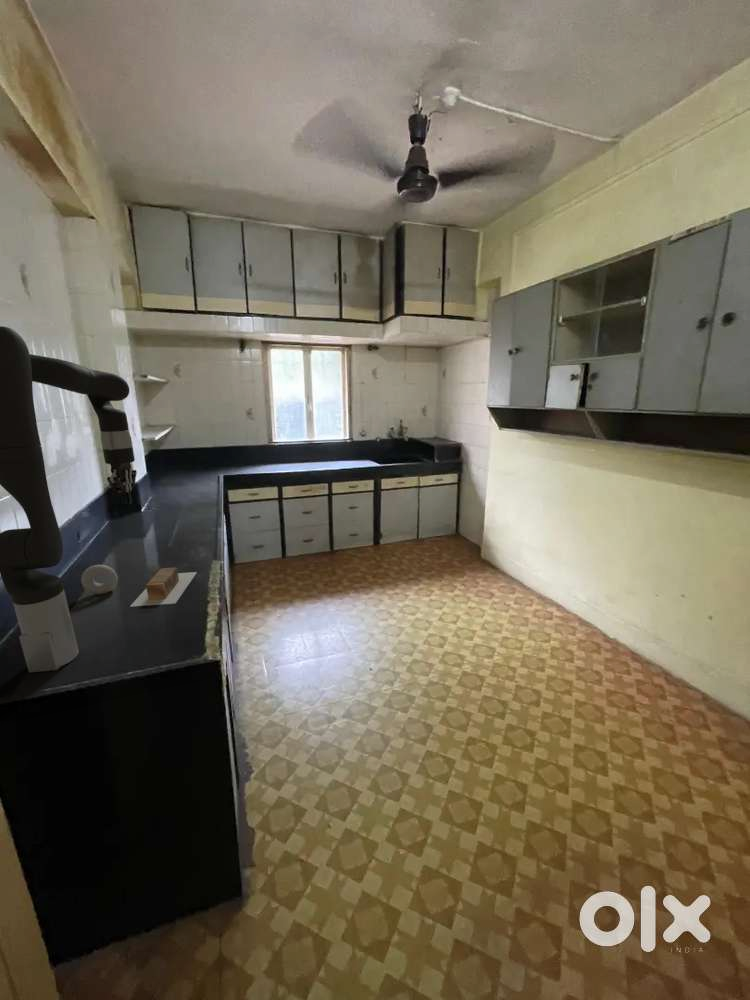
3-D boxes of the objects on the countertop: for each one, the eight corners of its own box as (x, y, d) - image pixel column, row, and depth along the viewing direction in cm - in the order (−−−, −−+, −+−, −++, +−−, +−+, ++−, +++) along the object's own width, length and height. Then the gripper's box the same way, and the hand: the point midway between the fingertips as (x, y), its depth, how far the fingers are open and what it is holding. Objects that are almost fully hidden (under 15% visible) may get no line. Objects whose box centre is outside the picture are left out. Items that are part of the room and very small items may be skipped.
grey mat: (175, 604, 122) (175, 603, 122) (129, 608, 121) (129, 606, 120) (197, 573, 143) (197, 572, 143) (158, 575, 142) (158, 574, 142)
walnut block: (179, 581, 136) (165, 598, 125) (163, 582, 136) (148, 599, 124) (176, 567, 135) (163, 583, 124) (161, 568, 134) (146, 585, 123)
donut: (82, 598, 127) (76, 569, 124) (87, 593, 130) (80, 564, 127) (118, 594, 129) (112, 565, 127) (121, 589, 132) (116, 560, 130)
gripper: (115, 444, 124) (125, 499, 128) (90, 449, 111) (102, 510, 116) (141, 443, 125) (150, 498, 129) (119, 448, 112) (129, 509, 116)
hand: (127, 503), depth 122 cm, fingers closed
